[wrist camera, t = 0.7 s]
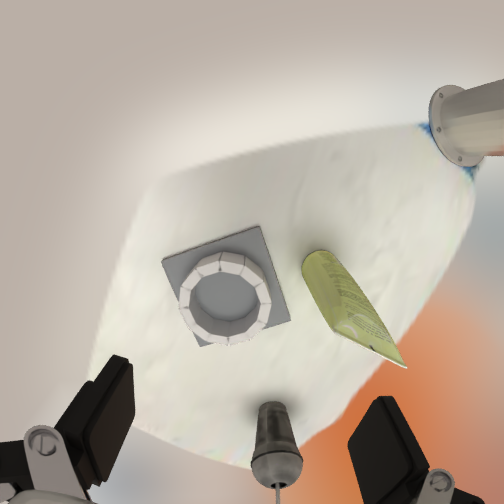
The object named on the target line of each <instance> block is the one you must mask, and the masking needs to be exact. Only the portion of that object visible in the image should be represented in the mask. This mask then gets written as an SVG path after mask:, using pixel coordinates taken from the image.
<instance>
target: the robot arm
mask: <svg viewBox="0 0 504 504" xmlns="http://www.w3.org/2000/svg"><path fill="white" fill-rule="evenodd" d="M429 123H430V127H431V131H432V134H433V137H434V139H435V141H436V143H437V145H438V147H439V149H440V150H441V151H442V153H443V154H444V155H445V156H446V157H447V158H448V159H449V160H450V161H452V162H453V163H454V164H457V165H459V166H464V167H471V166H474V165H476V164H478V163H479V162H480V161H481V160H482V159H483V158H484V156H504V79H502V80H498V81H495V82H491V83H488V84H484V85H481V86H478V87H475V88H471V89H468V90H464V89H463V88H461V87H458V86H455V85H447V86H443V87H441V88H439V89H438V90H437V91H435V93H434V94H433V96H432V98H431V100H430V104H429ZM134 416H135V399H134V381H133V365H132V364H130V363H129V360H128V359H127V358H124V357H120V356H117V355H112V357H111V358H110V359H109V361H108V362H107V364H106V365H105V366H104V368H103V369H102V371H101V372H100V373H99V375H98V376H97V378H96V379H95V381H94V382H93V381H87V382H86V383H85V384H84V385H83V386H82V388H81V389H80V391H79V392H78V393H77V395H76V396H75V398H74V399H73V401H72V402H71V403H70V405H69V406H68V408H67V409H66V411H65V412H64V414H63V415H62V416H61V418H60V419H59V421H58V422H57V424H56V425H55V427H54V428H52V427H49V426H46V425H38V426H34V427H32V428H30V429H29V430H28V431H27V432H26V434H25V436H24V440H18V441H10V442H0V503H1V502H4V501H8V502H9V503H8V504H97V503H94V502H92V500H91V497H90V495H89V493H88V491H87V490H88V489H90V487H91V485H92V484H94V485H97V486H100V485H101V482H102V481H103V482H106V481H107V480H108V478H109V475H110V473H111V470H112V468H113V466H114V463H115V461H116V459H117V456H118V454H119V451H120V449H121V447H122V444H123V442H124V440H125V437H126V435H127V433H128V431H129V428H130V426H131V424H132V422H133V419H134ZM348 450H349V453H350V457H351V460H352V463H353V467H354V470H355V474H356V477H357V481H358V484H359V488H360V491H361V495H362V499H363V502H364V504H485V503H484V501H483V500H482V499H481V498H479V497H477V496H474V495H472V494H469V493H466V492H464V491H462V490H459V489H457V488H454V485H455V482H454V478H453V477H452V475H451V474H450V473H449V472H448V471H446V470H444V469H433V470H431V471H430V472H429V470H428V468H429V467H430V466H429V464H428V462H427V460H426V458H425V456H424V454H423V452H422V450H421V448H420V446H419V444H418V442H417V440H416V438H415V436H414V434H413V433H412V431H411V429H410V427H409V425H408V423H407V421H406V419H405V417H404V416H403V414H402V412H401V410H400V408H399V407H398V404H397V403H396V401H395V399H394V398H393V397H392V396H379V397H377V399H375V400H374V401H373V402H372V404H371V405H370V407H369V409H368V410H367V412H366V414H365V416H364V417H363V419H362V420H361V422H360V423H359V425H358V427H357V428H356V430H355V431H354V433H353V434H352V436H351V437H350V439H349V441H348Z"/></svg>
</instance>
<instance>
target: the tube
mask: <svg viewBox="0 0 504 504" xmlns="http://www.w3.org/2000/svg"><path fill="white" fill-rule="evenodd" d="M302 275H303V278H304V280H305V282H306V284H307V286H308V288H309V290H310V292H311V294H312V296H313V298H314V300H315V302H316V304H317V306H318V307H319V309H320V311H321V313H322V315H323V317H324V318H325V320H326V322H327V323H328V325H329V327H330V328H331V330H332V331H333V332H334V333H335V334H337V335H339V336H341V337H343V338H345V339H347V340H349V341H351V342H353V343H355V344H357V345H359V346H361V347H362V348H365V349H367V350H369V351H371V352H373V353H375V354H377V355H379V356H381V357H383V358H385V359H387V360H389V361H391V362H393V363H395V364H397V365H399V366H401V367H403V368H407V366H406V365H405V364H404V362H403V359H402V357H401V355H400V353H399V351H398V349H397V347H396V345H395V343H394V341H393V339H392V337H391V336H390V334H389V332H388V330H387V329H386V327H385V325H384V324H383V322H382V320H381V319H380V317H379V316H378V314H377V312H376V311H375V309H374V308H373V306H372V305H371V303H370V302H369V300H368V299H367V297H366V296H365V294H364V293H363V291H362V290H361V289H360V287H359V286H358V284H357V283H356V282H355V280H354V279H353V278H352V276H351V275H350V274H349V273H348V271H347V270H346V269H345V268H344V267H343V265H342V264H341V263H340V262H339V261H338V259H337V258H336V257H335V256H334V255H333V254H331V253H330V252H327V251H315V252H313V253H311V254H310V255H308V256H307V258H306V259H305V260H304V262H303V265H302Z"/></svg>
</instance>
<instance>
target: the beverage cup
mask: <svg viewBox="0 0 504 504" xmlns="http://www.w3.org/2000/svg"><path fill="white" fill-rule="evenodd" d="M302 466H303V458H302V456H301V455H300V452H299V450H298V448H297V446H296V442H295V438H294V435H293V431H292V427H291V424H290V420H289V416H288V413H287V411H286V407H285V406H284V405H283V404H282V403H280V402H267V403H265V404H263V405H262V406H261V407H260V409H259V415H258V422H257V432H256V443H255V451H254V453H253V457H252V461H251V468H252V472H253V475H254V476H255V478H256V480H257V481H258V482H259V483H260V484H262V485H264V486H265V487H267V488H271V489H276V504H280V489H282V488H286V487H288V486H290V485H292V484H293V483H294V482H295V481H296V480H297V479H298V478H299V476H300V474H301V471H302Z"/></svg>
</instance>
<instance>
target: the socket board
mask: <svg viewBox="0 0 504 504" xmlns="http://www.w3.org/2000/svg"><path fill="white" fill-rule="evenodd" d="M161 263H162V266H163V268H164V270H165V273H166V275H167V277H168V280H169V282H170V284H171V286H172V289H173V291H174V293H175V295H176V298H177V300H178V302H179V306H178V307H179V311H180V313H181V315H182V317H183V319H184V321H185V323H186V325H187V327H189V329H190V330H191V331H192V332H193V334H194V336H195V338H196V340H197V342H198V344H199V346H200V347H202V346H206V345H209V344H213V343H216V344H221V345H227V346H228V345H234V344H238V343H241V342H245V341H248V340H250V339H252V338H253V337H254V336H255V335H256V334H257V333H258V332H259V331H260V330H263V329H266V328H269V327H272V326H276V325H279V324H282V323H285V322H288V321H291V319H290V316H289V313H288V310H287V307H286V304H285V301H284V298H283V295H282V292H281V289H280V286H279V283H278V280H277V277H276V274H275V271H274V268H273V265H272V262H271V259H270V256H269V253H268V250H267V247H266V244H265V242H264V239H263V236H262V233H261V230H260V227H259V226H258V227H255V228H252V229H249V230H246V231H243V232H240V233H237V234H234V235H232V236H229V237H226V238H223V239H220V240H217V241H214V242H211V243H208V244H206V245H203V246H200V247H197V248H194V249H191V250H189V251H186V252H183V253H180V254H177V255H175V256H172V257H169V258H166V259H164V260H162V261H161Z"/></svg>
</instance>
